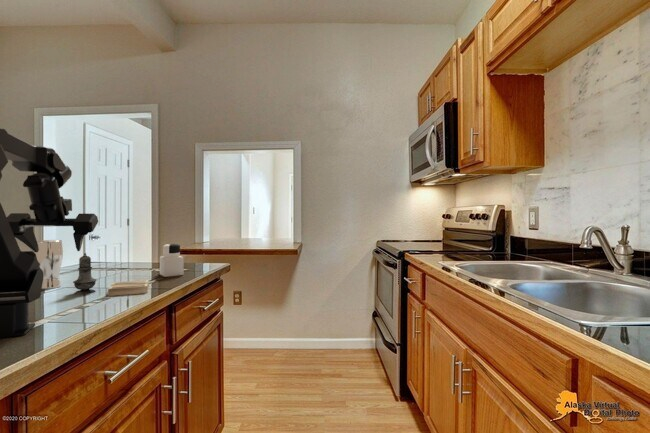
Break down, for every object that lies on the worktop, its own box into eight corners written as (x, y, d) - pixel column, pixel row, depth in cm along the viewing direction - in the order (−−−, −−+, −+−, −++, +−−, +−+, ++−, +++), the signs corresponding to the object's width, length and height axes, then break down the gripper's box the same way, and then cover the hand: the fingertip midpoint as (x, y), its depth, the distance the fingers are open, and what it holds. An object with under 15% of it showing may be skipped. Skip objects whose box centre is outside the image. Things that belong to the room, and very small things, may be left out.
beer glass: (30, 288, 106) (30, 241, 106) (56, 284, 112) (56, 239, 112) (40, 290, 103) (41, 242, 103) (66, 286, 109) (67, 240, 109)
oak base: (147, 292, 101) (147, 285, 101) (108, 296, 97) (108, 288, 97) (148, 286, 110) (148, 279, 110) (113, 288, 106) (113, 282, 106)
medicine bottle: (178, 272, 136) (178, 243, 136) (183, 275, 130) (183, 244, 130) (159, 274, 131) (159, 244, 131) (164, 277, 126) (164, 245, 126)
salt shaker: (84, 295, 97) (84, 254, 97) (67, 294, 98) (67, 253, 98) (101, 290, 103) (101, 252, 103) (85, 289, 104) (85, 251, 104)
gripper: (99, 185, 91) (107, 234, 98) (14, 183, 85) (28, 235, 92) (86, 203, 82) (96, 256, 89) (-11, 202, 76) (8, 259, 83)
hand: (58, 250), depth 88 cm, fingers open, 9 cm apart
